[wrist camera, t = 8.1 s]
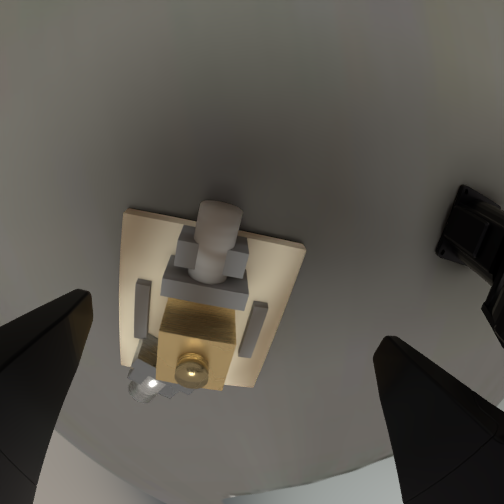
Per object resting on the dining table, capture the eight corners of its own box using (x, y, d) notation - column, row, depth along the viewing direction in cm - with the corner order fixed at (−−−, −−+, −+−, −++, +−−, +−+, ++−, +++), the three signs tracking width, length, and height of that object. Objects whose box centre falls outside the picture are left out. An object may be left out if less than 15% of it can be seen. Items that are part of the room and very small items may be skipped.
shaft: (145, 331, 21) (137, 358, 19) (199, 360, 23) (196, 388, 20) (119, 366, 23) (111, 391, 20) (167, 390, 25) (163, 416, 22)
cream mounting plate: (312, 217, 19) (330, 240, 16) (252, 379, 26) (255, 413, 22) (132, 178, 17) (108, 194, 14) (123, 357, 24) (112, 390, 20)
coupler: (234, 301, 21) (237, 359, 15) (222, 346, 22) (222, 404, 17) (171, 288, 20) (154, 345, 15) (165, 336, 22) (152, 393, 16)
